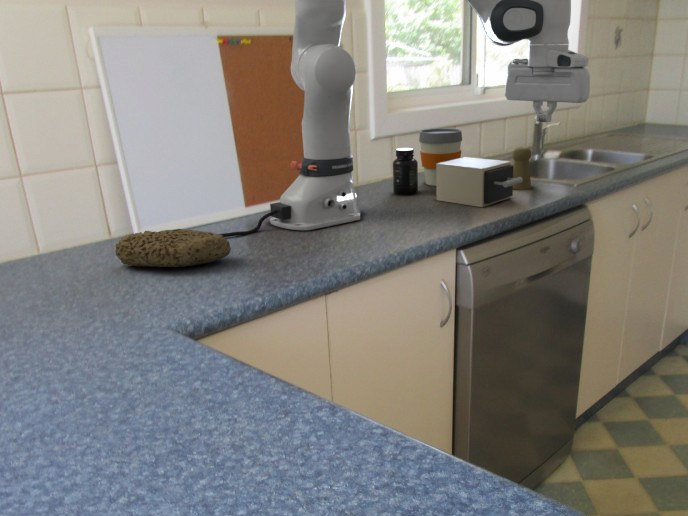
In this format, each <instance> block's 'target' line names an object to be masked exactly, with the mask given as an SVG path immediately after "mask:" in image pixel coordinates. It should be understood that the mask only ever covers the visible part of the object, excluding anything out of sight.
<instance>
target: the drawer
mask: <svg viewBox="0 0 688 516" xmlns="http://www.w3.org/2000/svg"><path fill="white" fill-rule="evenodd" d="M513 169H514V166H513V165H512V164H511V165H509V166H506V167H504V166H503V167H500V168H496V169H492V170H488V171H484V203H485V204H489V203H492V202H495V201H498V200H501V199H504V198H507V197H510V198H511V197H513V195H514V194H513V193H514V189H513V185H516V184H519V183H522V182H523V179H522V178H521V177H518V178H513Z"/></svg>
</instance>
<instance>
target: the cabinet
mask: <svg viewBox="0 0 688 516" xmlns="http://www.w3.org/2000/svg"><path fill="white" fill-rule="evenodd" d="M509 165H511V166H512V161H510V160H502V159H501V160H500V159H499V160H498V159H489V158H482V157H481V158H480V157H472V156H471V157H470V156H464V157H461V158H458V159H454V160H450V161H445V162H441V163H436V185H437V186H436V201H440V202H446V203H452V204H459V205H466V206H472V207H479V208H484V207H488V206H490V205H495V204H497V203H499V202H503V201H506V200H509V199H511V197H507V198H504V199H501V200H498V201H495V202H492V203H489V204H485V203H484V171H488V170H492V169H496V168H500V167H503V166H504V167H506V166H509Z"/></svg>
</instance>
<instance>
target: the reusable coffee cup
mask: <svg viewBox="0 0 688 516" xmlns="http://www.w3.org/2000/svg"><path fill="white" fill-rule="evenodd" d="M418 142H419V143H420V151H419V155H420V162H421V167H422V168H423V172H424V180H425V181H424V182H425V184H426V185H429V186H435V187H437V185H436V163H441V162H445V161H450V160H454V159H458V158H462V157H461V156H462V149H461V145H462V142H463V134H462V130H461V129H460V128H459V129H458V128H448V127H447V128H444V127H443V128H428V129H422V130H420V131H419V137H418Z"/></svg>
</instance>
